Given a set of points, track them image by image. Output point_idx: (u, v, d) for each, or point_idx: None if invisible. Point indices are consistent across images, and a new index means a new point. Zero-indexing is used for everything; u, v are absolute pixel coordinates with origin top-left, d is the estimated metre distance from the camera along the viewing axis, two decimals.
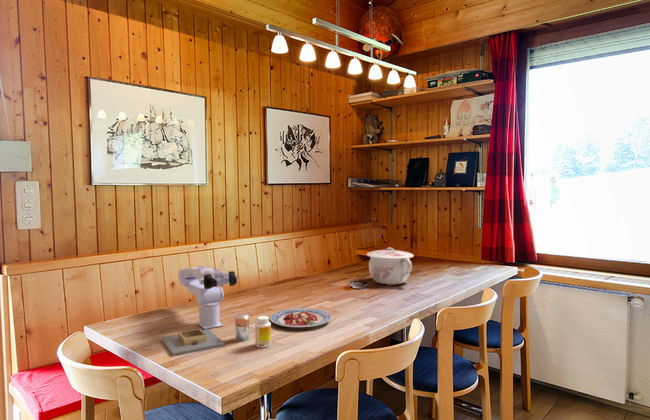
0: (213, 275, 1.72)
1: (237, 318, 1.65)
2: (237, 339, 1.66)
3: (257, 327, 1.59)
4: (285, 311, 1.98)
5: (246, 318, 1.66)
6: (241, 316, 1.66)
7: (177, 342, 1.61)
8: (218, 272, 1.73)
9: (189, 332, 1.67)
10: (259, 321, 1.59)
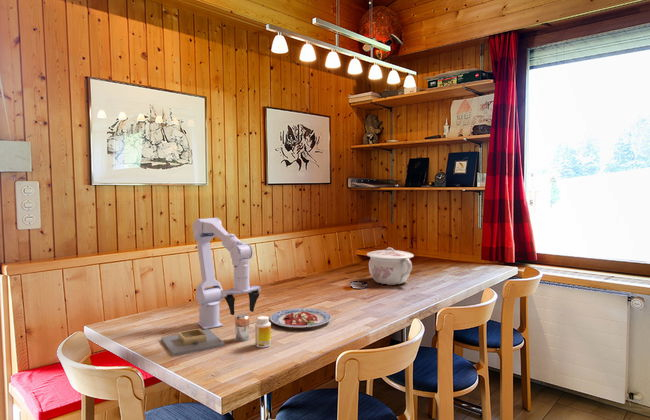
0: None
1: (237, 318, 1.65)
2: (237, 339, 1.66)
3: (257, 327, 1.59)
4: (285, 311, 1.98)
5: (246, 318, 1.66)
6: (241, 316, 1.66)
7: (177, 342, 1.61)
8: None
9: (189, 332, 1.67)
10: (259, 321, 1.59)
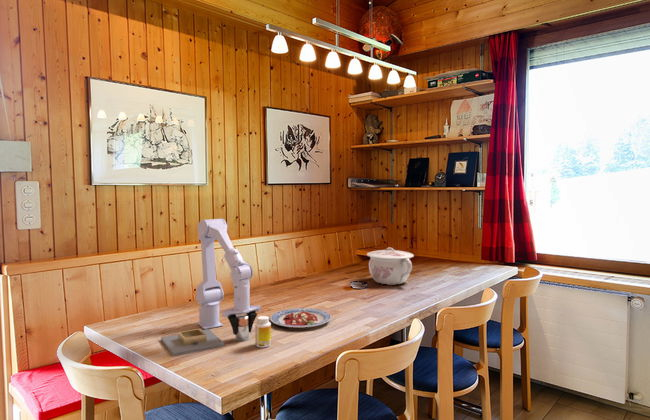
0: None
1: None
2: (237, 339, 1.66)
3: (257, 327, 1.59)
4: (285, 311, 1.98)
5: (246, 318, 1.66)
6: (241, 316, 1.66)
7: (177, 342, 1.61)
8: None
9: (189, 332, 1.67)
10: (259, 321, 1.59)
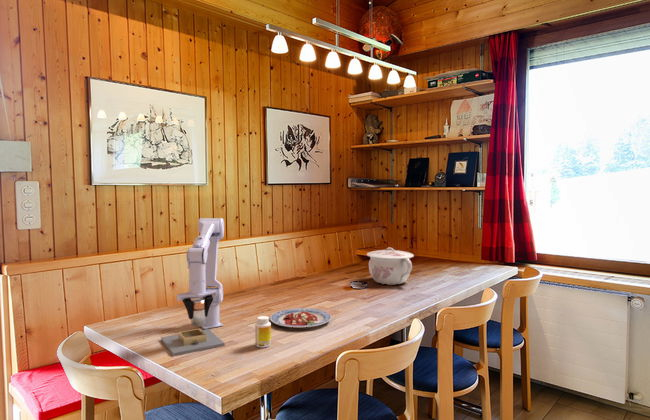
0: None
1: None
2: (193, 324, 1.62)
3: (257, 327, 1.59)
4: (285, 311, 1.98)
5: (202, 302, 1.62)
6: (197, 300, 1.62)
7: (177, 342, 1.61)
8: None
9: (189, 332, 1.67)
10: (259, 321, 1.59)
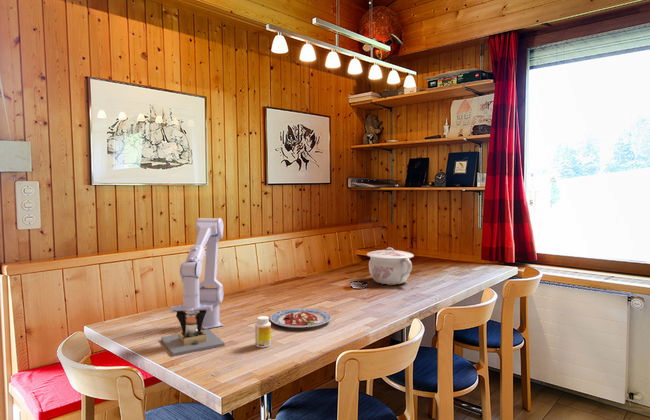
0: None
1: (184, 316, 1.62)
2: (185, 337, 1.62)
3: (257, 327, 1.59)
4: (285, 311, 1.98)
5: (193, 317, 1.61)
6: (189, 314, 1.62)
7: (177, 342, 1.61)
8: (190, 310, 1.60)
9: None
10: (259, 321, 1.59)
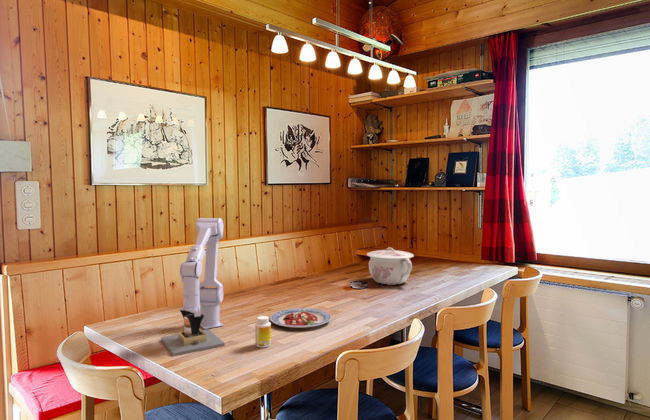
0: None
1: None
2: None
3: (257, 327, 1.59)
4: (285, 311, 1.98)
5: (185, 319, 1.61)
6: None
7: (177, 342, 1.61)
8: None
9: None
10: (259, 321, 1.59)
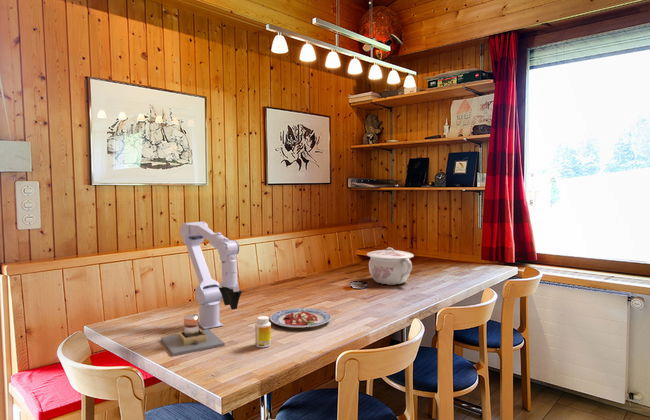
0: None
1: None
2: None
3: (257, 327, 1.59)
4: (285, 311, 1.98)
5: (185, 319, 1.61)
6: (188, 316, 1.63)
7: (177, 342, 1.61)
8: None
9: None
10: (259, 321, 1.59)
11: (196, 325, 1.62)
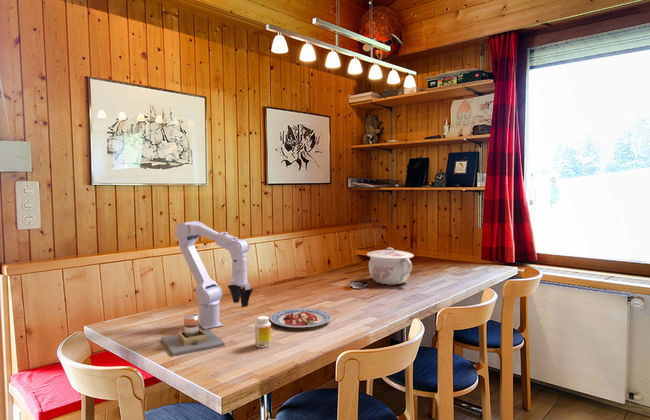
0: None
1: None
2: None
3: (257, 327, 1.59)
4: (285, 311, 1.98)
5: (185, 319, 1.61)
6: (188, 316, 1.63)
7: (177, 342, 1.61)
8: None
9: None
10: (259, 321, 1.59)
11: (196, 325, 1.62)
